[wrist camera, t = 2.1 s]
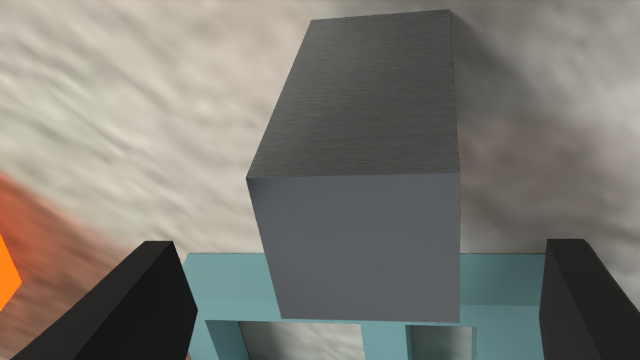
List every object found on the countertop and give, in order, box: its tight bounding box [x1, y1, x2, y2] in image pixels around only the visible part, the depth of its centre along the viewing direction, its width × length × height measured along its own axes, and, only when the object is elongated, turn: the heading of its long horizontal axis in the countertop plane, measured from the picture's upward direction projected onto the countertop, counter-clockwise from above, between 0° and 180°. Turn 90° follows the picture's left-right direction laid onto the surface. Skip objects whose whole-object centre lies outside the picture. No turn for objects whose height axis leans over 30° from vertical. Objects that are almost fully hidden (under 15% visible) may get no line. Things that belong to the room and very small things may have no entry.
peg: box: [246, 10, 460, 323], centre depth 15 cm, size 4×4×8 cm
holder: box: [182, 254, 546, 360], centre depth 24 cm, size 15×8×2 cm, turn 98°
